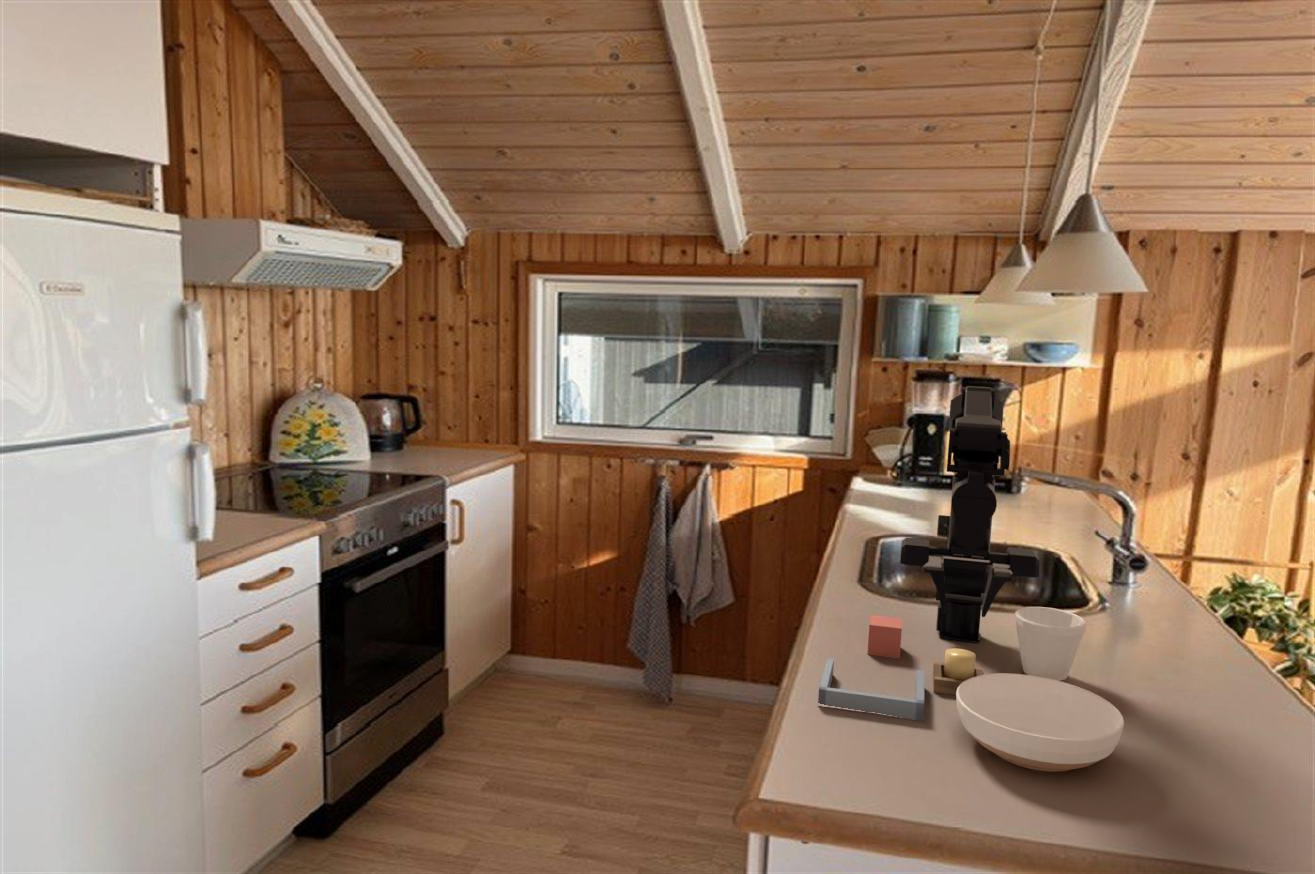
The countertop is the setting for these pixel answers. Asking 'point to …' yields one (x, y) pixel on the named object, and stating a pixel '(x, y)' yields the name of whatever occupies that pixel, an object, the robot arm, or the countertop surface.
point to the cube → (884, 636)
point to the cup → (1048, 640)
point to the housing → (948, 679)
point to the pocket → (872, 698)
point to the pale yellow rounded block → (959, 664)
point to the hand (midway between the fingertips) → (963, 614)
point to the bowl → (1038, 721)
